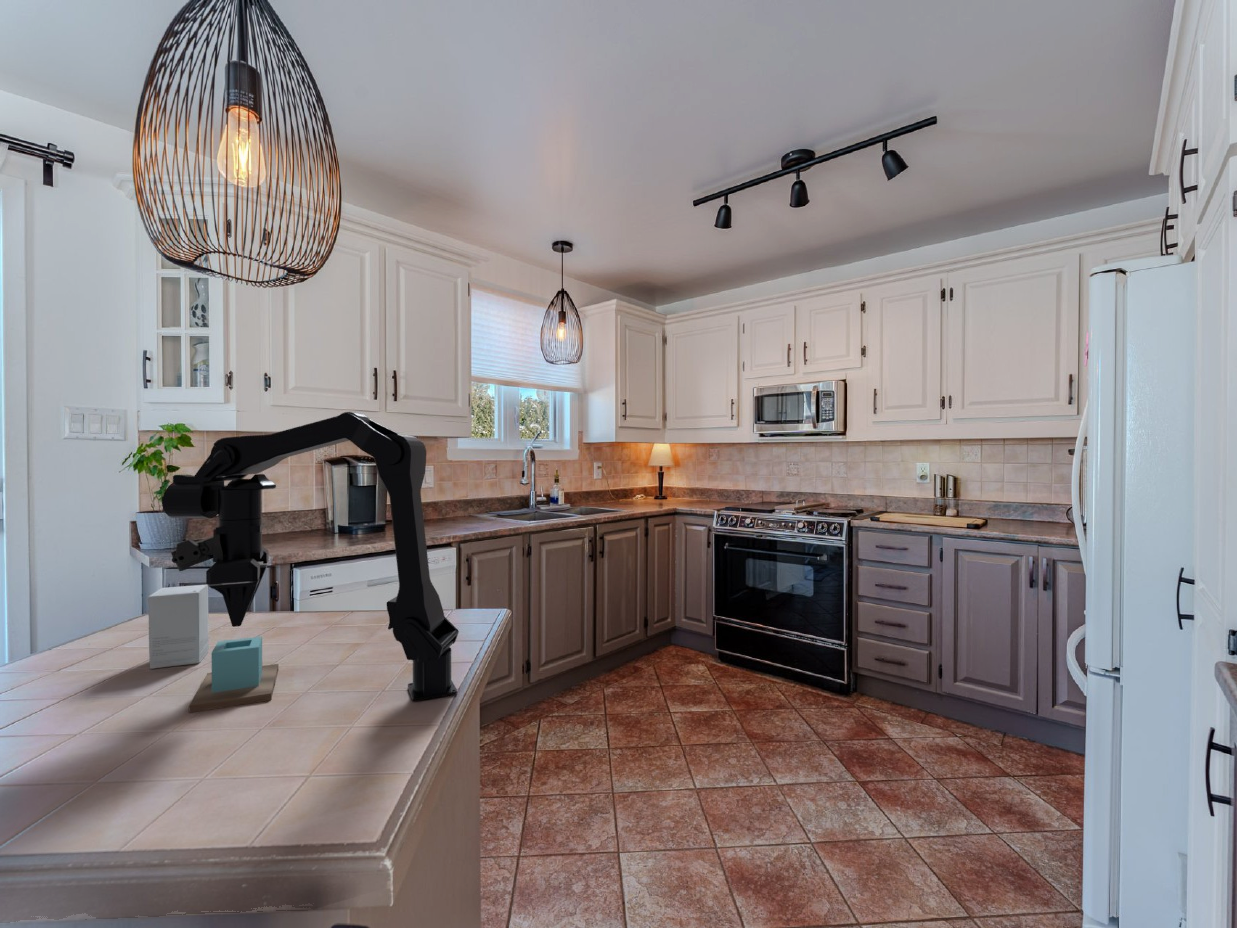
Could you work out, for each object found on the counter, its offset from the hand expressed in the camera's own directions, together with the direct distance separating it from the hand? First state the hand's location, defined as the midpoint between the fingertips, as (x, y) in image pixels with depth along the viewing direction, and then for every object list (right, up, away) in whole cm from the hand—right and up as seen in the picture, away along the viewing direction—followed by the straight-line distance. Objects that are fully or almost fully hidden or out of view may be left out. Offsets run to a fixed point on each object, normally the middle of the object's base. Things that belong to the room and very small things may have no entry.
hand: (240, 618), depth 92 cm
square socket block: (0, -10, 0) cm, 10 cm away
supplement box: (-19, -11, +13) cm, 26 cm away
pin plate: (0, -11, 0) cm, 11 cm away
